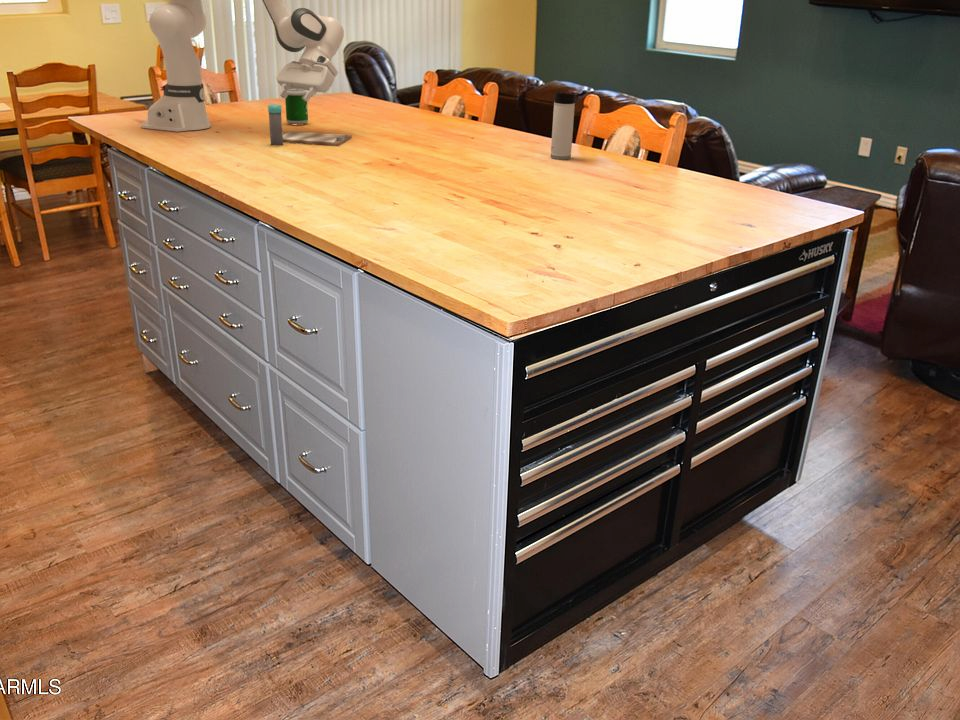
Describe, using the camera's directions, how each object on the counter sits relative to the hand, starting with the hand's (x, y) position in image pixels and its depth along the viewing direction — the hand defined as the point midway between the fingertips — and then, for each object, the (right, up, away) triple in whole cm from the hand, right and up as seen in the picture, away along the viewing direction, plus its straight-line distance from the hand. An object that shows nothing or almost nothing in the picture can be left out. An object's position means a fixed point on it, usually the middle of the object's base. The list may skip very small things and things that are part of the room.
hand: (293, 98), depth 284 cm
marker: (-5, -15, -1) cm, 16 cm away
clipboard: (+4, -11, +8) cm, 14 cm away
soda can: (-6, 0, +33) cm, 34 cm away
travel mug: (+84, -20, -5) cm, 86 cm away
